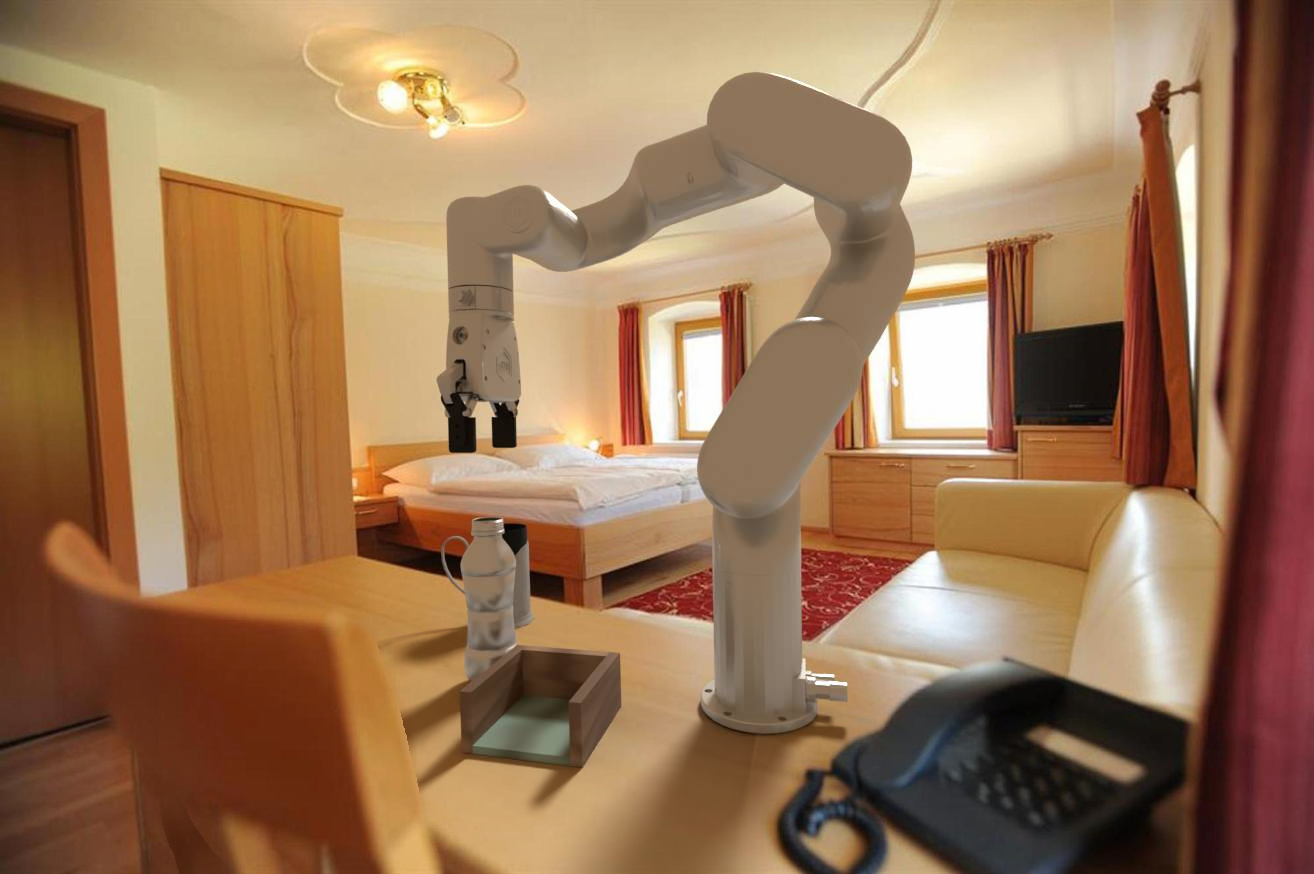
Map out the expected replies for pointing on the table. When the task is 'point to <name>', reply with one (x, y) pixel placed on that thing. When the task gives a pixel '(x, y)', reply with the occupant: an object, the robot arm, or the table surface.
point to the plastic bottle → (488, 596)
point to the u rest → (541, 705)
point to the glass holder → (521, 594)
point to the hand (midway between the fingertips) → (484, 450)
